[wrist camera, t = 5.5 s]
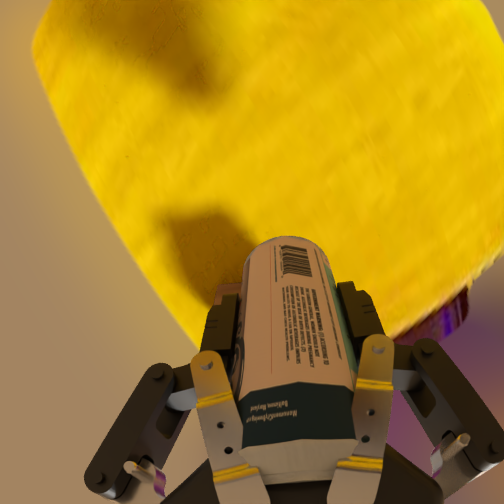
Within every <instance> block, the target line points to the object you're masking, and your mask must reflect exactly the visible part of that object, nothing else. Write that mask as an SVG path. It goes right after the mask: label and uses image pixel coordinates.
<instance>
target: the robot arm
mask: <svg viewBox="0 0 504 504" xmlns="http://www.w3.org/2000/svg"><path fill="white" fill-rule="evenodd" d="M337 291H338V294H339V298H340V301H341V305H342V309H343V312H344V316H345V320H346V323H347V327H348V331H349V335H350V338H351V342H352V346H353V350H354V354H355V358H356V363H357V367H358V376H357V381H356V387H355V392H354V398H353V403H352V407H351V411H352V417H353V423H354V429H355V435H356V440H357V441H359V442H358V445H357V446H356V447H355V449H354V451H353V453H352V455H351V456H349V457H347V458H341V459H338V462H337V466H336V469H335V472H334V475H333V479H332V480H320V481H311V482H300V483H284V484H269V485H264V482H263V480H262V477H261V475H260V472H259V470H258V467H257V466H250V465H249V464H248V463H247V462H246V460H245V459H244V457H242V456H240V455H239V453H238V451H240V450H242V435H243V425H242V422H241V419H240V416H239V412H238V409H237V406H236V403H235V399H234V396H233V393H232V389H231V380H232V371H233V361H234V352H235V342H236V333H237V324H238V314H239V305H240V297H239V294H238V293H231V294H223V296H222V301H221V305H213V307H212V308H211V309H210V311H209V312H208V315H207V319H206V324H205V329H204V333H203V338H202V343H201V347H200V352H199V353H198V354H197V355H195V356H194V357H193V359H192V360H191V363H189V364H188V365H184V366H181V367H177V368H173V369H172V368H171V366H170V365H168V364H166V363H158V364H154V365H152V366H151V367H149V368H148V370H147V371H146V372H145V374H144V375H143V377H142V378H141V380H140V382H139V383H138V385H137V386H136V388H135V390H134V391H133V393H132V395H131V396H130V398H129V399H128V401H127V403H126V404H125V406H124V408H123V409H122V411H121V413H120V414H119V416H118V418H117V419H116V421H115V422H114V424H113V426H112V427H111V429H110V431H109V432H108V434H107V436H106V438H105V439H104V441H103V442H102V444H101V446H100V447H99V449H98V451H97V452H96V454H95V456H94V457H93V459H92V461H91V463H90V464H89V466H88V468H87V470H86V471H85V474H84V481H85V484H86V486H87V487H88V489H89V490H91V491H92V492H94V493H96V494H98V495H100V496H102V497H103V498H105V499H107V500H109V501H112V502H114V503H116V504H444V500H445V499H446V498H448V497H449V496H450V495H452V494H453V493H455V492H456V491H458V490H459V489H460V488H461V487H463V486H464V485H466V484H467V483H469V482H470V481H472V480H474V479H475V478H477V477H479V476H480V475H482V474H483V473H485V472H486V471H488V470H489V469H491V468H492V467H494V466H495V465H497V464H498V463H500V462H501V461H502V460H503V459H504V431H503V429H502V428H501V426H500V425H499V423H498V422H497V420H496V419H495V418H494V416H493V415H492V413H491V412H490V410H489V409H488V407H487V406H486V405H485V403H484V402H483V400H482V399H481V398H480V396H479V395H478V394H477V392H476V391H475V390H474V388H473V387H472V386H471V384H470V383H469V382H468V380H467V379H466V378H465V377H464V375H463V374H462V372H461V371H460V370H459V369H458V367H457V366H456V365H455V364H454V362H453V361H452V360H451V359H450V357H449V356H448V355H447V354H446V352H445V351H444V350H443V349H442V347H441V346H440V345H439V344H438V343H437V342H436V341H434V340H432V339H429V338H423V339H419V340H418V341H416V342H415V343H414V345H413V346H408V345H399V344H396V343H393V341H392V340H391V339H390V338H389V337H388V336H386V335H385V333H384V330H383V327H382V325H381V322H380V319H379V317H378V314H377V312H376V309H375V306H374V304H373V301H372V299H371V296H370V295H369V294H367V293H366V292H365V291H364V290H360V291H356V289H355V286H354V283H353V281H348V282H340V283H337ZM393 390H400V391H401V393H402V395H403V396H404V398H405V399H406V401H407V403H408V404H409V406H410V407H411V409H412V411H413V412H414V414H415V415H416V417H417V419H418V420H419V422H420V424H421V425H422V427H423V429H424V430H425V432H426V434H427V435H428V437H429V439H430V440H431V442H432V444H433V445H434V447H435V448H434V449H433V451H432V453H431V464H432V467H433V474H432V477H430V476H429V475H428V474H426V473H425V472H424V471H422V470H421V469H419V468H418V467H417V466H416V465H414V464H413V463H412V462H410V461H409V460H407V459H406V458H405V457H404V456H403V455H401V454H400V453H399V452H397V451H396V450H395V449H393V448H392V447H391V446H390V445H389V444H387V443H386V440H387V434H388V427H389V421H390V414H391V406H392V398H393ZM193 408H197V413H198V417H199V421H200V426H201V430H202V434H203V438H204V442H205V446H206V450H207V454H208V457H209V458H208V459H207V460H206V461H205V462H204V463H203V464H202V465H201V466H200V467H198V468H197V469H196V470H195V471H194V472H193V473H192V474H191V475H190V476H189V477H188V478H187V479H186V480H185V481H184V482H183V483H181V485H179V486H178V487H177V488H176V489H175V490H174V491H173V492H171V493H170V494H169V495H168V496H167V497H166V496H165V492H164V488H165V484H166V476H165V474H164V473H163V472H162V468H163V466H164V464H165V462H166V460H167V458H168V456H169V454H170V452H171V450H172V448H173V446H174V443H175V442H176V440H177V438H178V436H179V434H180V432H181V429H182V428H183V425H184V424H185V421H186V419H187V417H188V415H189V413H190V411H191V409H193ZM361 440H363V441H365V442H366V443H363V442H362V441H361ZM231 452H232V453H231ZM229 453H231V454H229Z"/></svg>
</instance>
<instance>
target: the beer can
mask: <svg viewBox="0 0 504 504" xmlns="http://www.w3.org/2000/svg"><path fill="white" fill-rule="evenodd" d="M357 376H358V367H357V363H356V358H355V354H354V350H353V346H352V342H351V338H350V335H349V331H348V327H347V323H346V320H345V316H344V312H343V309H342V305H341V301H340V298H339V294H338V291H337V288H336V284H335V281H334V277H333V274H332V271H331V267H330V264H329V261H328V259H327V257H326V255H325V254H324V252H323V251H322V249H320V248H319V247H318V246H317V245H316V244H315V243H313V242H311V241H310V240H307V239H305V238H301V237H296V236H280V237H275V238H272V239H269V240H267V241H265V242H263V243H261V244H260V245H258V246H257V247H256V248H255V249H254V250H253V251H252V252H251V253H250V255H249V256H248V257H247V259H246V262H245V264H244V269H243V278H242V287H241V296H240V305H239V314H238V324H237V333H236V342H235V352H234V361H233V371H232V380H231V389H232V393H233V396H234V399H235V403H236V406H237V409H238V412H239V416H240V419H241V422H242V425H243V435H242V450H240V451H238V453H239V455H240V456H242V457H244V459H245V460H246V462H247V463H248V464H249V465H250V466H257V467H258V470H259V472H260V475H261V477H262V480H263V482H264V485H269V484H284V483H300V482H311V481H320V480H332V479H333V475H334V472H335V469H336V466H337V462H338V459H341V458H347V457H349V456H351V455H352V453H353V451H354V449H355V447H356V446H357V445H358V442H359V441H357V440H356V435H355V429H354V423H353V417H352V411H351V407H352V403H353V398H354V392H355V387H356V381H357ZM361 441H362V442H363V443H366V442H365V441H363V440H361ZM231 453H232V452H231ZM231 453H229V454H231Z"/></svg>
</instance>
